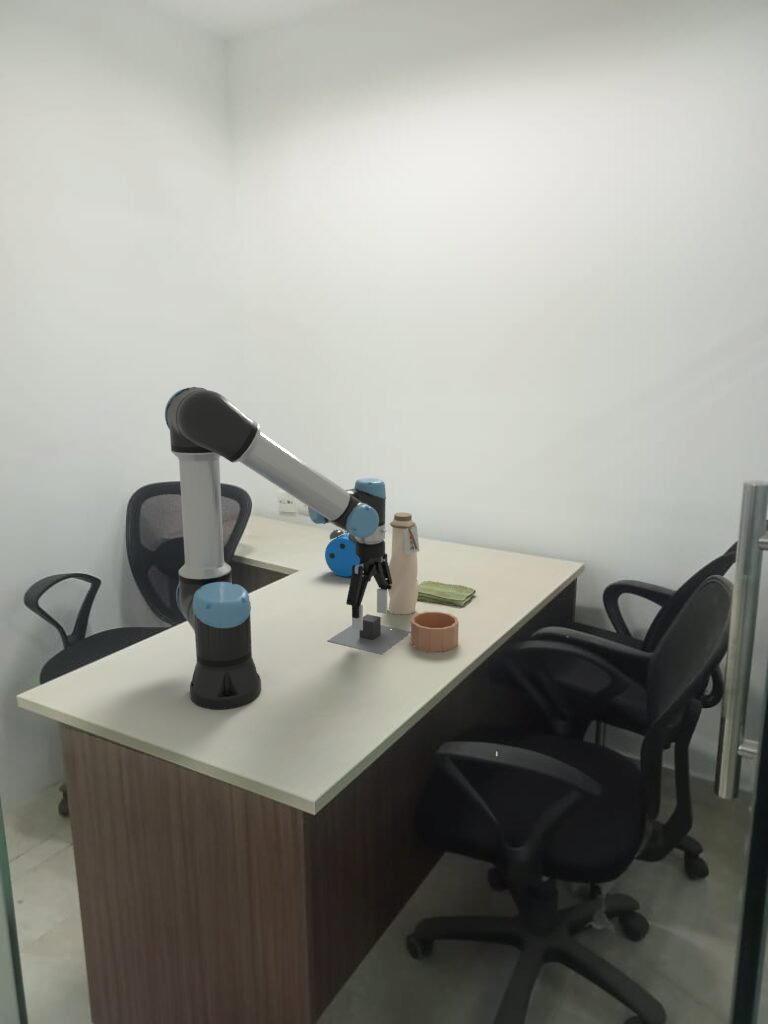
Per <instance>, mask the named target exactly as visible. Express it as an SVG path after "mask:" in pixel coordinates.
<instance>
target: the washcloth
mask: <svg viewBox="0 0 768 1024" xmlns="http://www.w3.org/2000/svg"><path fill="white" fill-rule="evenodd" d="M476 592H477V591H476V589H474V588H472V587H468V586H465V585H461V584H452V583H451V584H450V583H444V582H439V581H432V580H426V581H422V582H421V583H420V584H418V598H417V601H421V602H427V603H433V604H442V605H449V606H455V607H463V606H464V604H465V603H467V602H468V601H470V599H471V598H473V596H474V595H475V594H476Z"/></svg>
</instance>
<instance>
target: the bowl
mask: <svg viewBox="0 0 768 1024" xmlns="http://www.w3.org/2000/svg"><path fill="white" fill-rule="evenodd" d="M459 625H460V624H459V619H458V617H456V616H455V615H452V614H451V613H448V612H444V611H424V612H419V613H416V614H414V615H413V616H412V617H410V631H411V633H410V644H411V646H412V647H414V646H415V647H414V648H416V649H418V650H419V651H425V652H428V651H429V652H428V653H443V652H442V651H444V652H447V651H446V650H448V651H451V650H450V649H452V650H454V649H455V648H456V647H457V646H458V645H459ZM453 648H454V649H453ZM433 651H434V652H433ZM438 651H439V652H438Z"/></svg>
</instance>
